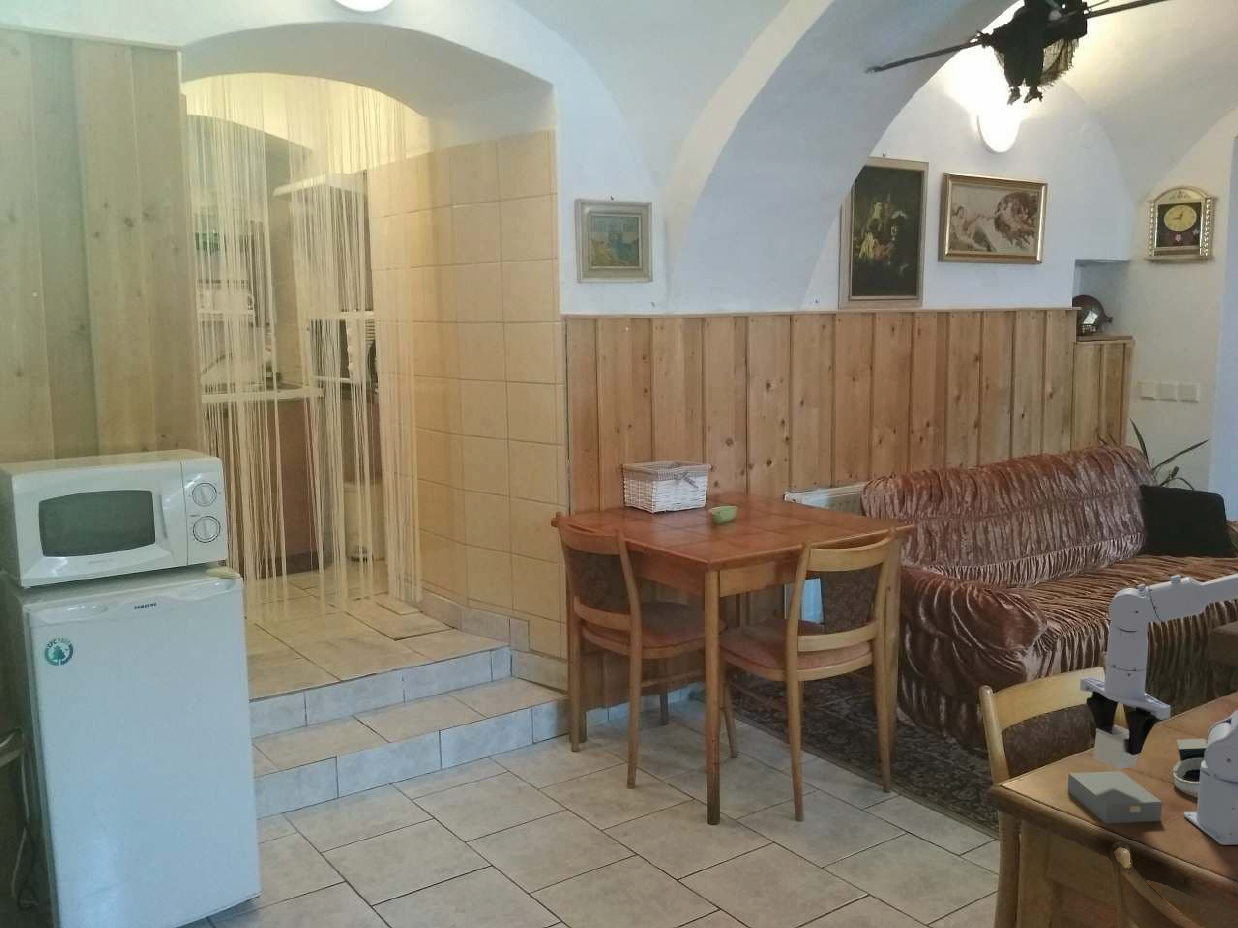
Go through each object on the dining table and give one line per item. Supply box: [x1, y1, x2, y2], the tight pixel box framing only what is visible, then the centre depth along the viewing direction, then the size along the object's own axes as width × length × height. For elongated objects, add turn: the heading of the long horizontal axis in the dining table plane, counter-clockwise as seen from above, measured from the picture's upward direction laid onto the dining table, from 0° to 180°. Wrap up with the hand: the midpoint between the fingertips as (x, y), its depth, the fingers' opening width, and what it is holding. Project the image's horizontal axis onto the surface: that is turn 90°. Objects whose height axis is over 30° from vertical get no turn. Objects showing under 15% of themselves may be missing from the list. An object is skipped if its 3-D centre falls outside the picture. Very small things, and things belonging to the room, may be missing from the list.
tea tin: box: [1091, 724, 1139, 770], centre depth 165 cm, size 5×5×5 cm
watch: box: [1171, 738, 1208, 796], centre depth 173 cm, size 6×8×11 cm
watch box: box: [1067, 770, 1163, 824], centre depth 165 cm, size 11×9×4 cm
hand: (1119, 747), depth 165 cm, fingers closed on tea tin, 5 cm apart
